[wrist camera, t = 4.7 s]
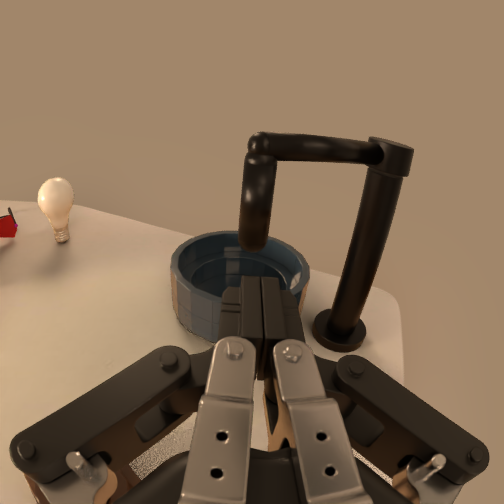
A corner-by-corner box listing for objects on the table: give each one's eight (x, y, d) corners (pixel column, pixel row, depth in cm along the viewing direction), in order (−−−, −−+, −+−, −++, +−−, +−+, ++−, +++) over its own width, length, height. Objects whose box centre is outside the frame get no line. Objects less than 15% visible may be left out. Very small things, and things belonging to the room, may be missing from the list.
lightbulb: (60, 231, 46) (52, 172, 41) (87, 235, 46) (79, 172, 41) (39, 247, 41) (27, 184, 35) (66, 253, 40) (54, 185, 35)
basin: (322, 309, 36) (334, 267, 33) (234, 375, 26) (238, 329, 23) (239, 259, 44) (242, 221, 41) (150, 297, 34) (145, 253, 31)
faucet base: (371, 333, 32) (424, 181, 23) (346, 361, 28) (408, 188, 20) (330, 309, 36) (368, 161, 27) (301, 332, 32) (339, 164, 23)
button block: (186, 531, 13) (180, 524, 11) (97, 576, 8) (73, 575, 6) (107, 433, 19) (92, 409, 17) (31, 469, 13) (5, 447, 11)
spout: (370, 221, 28) (388, 139, 24) (399, 240, 25) (422, 151, 21) (227, 239, 22) (236, 122, 18) (250, 268, 19) (265, 130, 15)
